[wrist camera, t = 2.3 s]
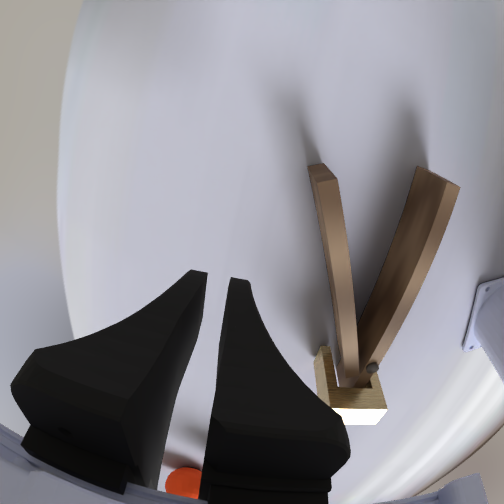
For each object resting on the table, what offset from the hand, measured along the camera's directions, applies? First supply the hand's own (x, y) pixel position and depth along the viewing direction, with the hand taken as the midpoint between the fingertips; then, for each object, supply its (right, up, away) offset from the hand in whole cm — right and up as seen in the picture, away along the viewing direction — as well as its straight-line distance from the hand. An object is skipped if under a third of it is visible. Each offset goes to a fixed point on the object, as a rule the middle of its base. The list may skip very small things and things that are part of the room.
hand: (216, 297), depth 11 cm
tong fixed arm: (+11, -1, +10) cm, 15 cm away
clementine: (-8, -32, +27) cm, 43 cm away
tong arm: (+7, +1, +9) cm, 12 cm away
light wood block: (+9, -7, +13) cm, 17 cm away
